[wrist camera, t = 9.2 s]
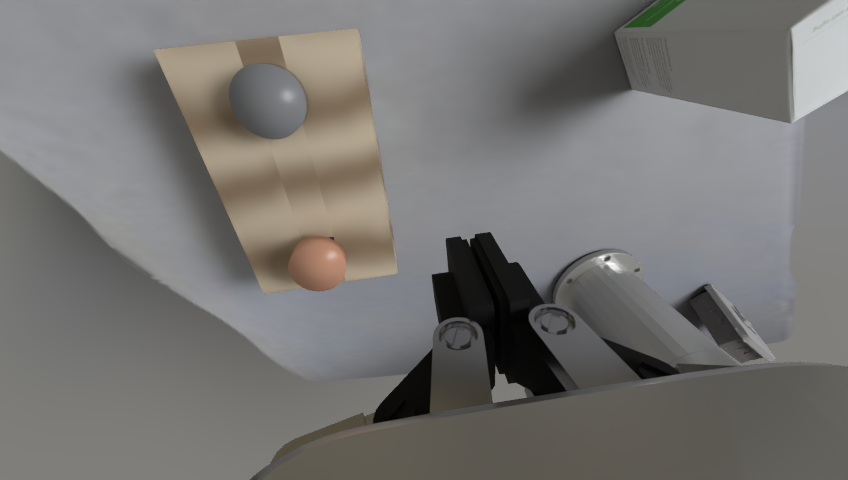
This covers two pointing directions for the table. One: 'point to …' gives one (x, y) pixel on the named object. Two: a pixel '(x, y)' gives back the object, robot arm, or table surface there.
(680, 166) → the table surface
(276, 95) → the grey button
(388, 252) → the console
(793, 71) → the skincare box
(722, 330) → the electrical switch
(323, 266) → the terracotta button
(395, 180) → the table surface
